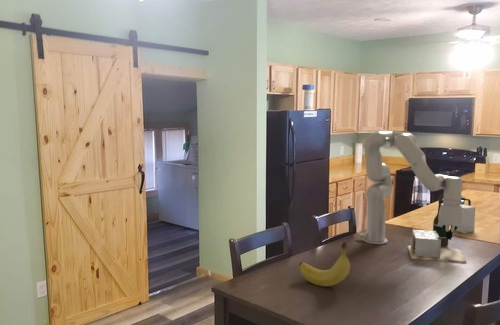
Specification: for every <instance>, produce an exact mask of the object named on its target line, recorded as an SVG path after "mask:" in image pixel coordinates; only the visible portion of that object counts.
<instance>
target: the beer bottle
mask: <svg viewBox="0 0 500 325" xmlns="http://www.w3.org/2000/svg"><path fill="white" fill-rule="evenodd" d="M437 202H438V206H437V214H436V216H435V217H434V219H433V223H432V224H433V225H432V231H436V232H437V234H438V235H439V237H440V239H441V247H447V246H448V244H449V239H448V240H447V238H446V237H445V232H446V230H445V229H444V228H443V227H439V226H438V217H439V210H440V206H441V204H442V203H443V199H441V200H440V199H439V200H438V201H437ZM448 230H450V226H449V225H448Z"/></svg>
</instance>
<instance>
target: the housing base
mask: <svg viewBox="0 0 500 325" xmlns="http://www.w3.org/2000/svg"><path fill="white" fill-rule="evenodd" d="M407 249H408V253H409V257H410V259H411V260H421V261H424V260H425V261H437V262H447V263H458V264H459V263H461V264H467V260H466V258H465V257H464V255H463V254H462V252H461V251H460V249H459V248H448V247H447V248H446V247H443V248H442V247H441V251H440V258H435V257H423V256H415V246H412V245H407Z"/></svg>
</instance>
